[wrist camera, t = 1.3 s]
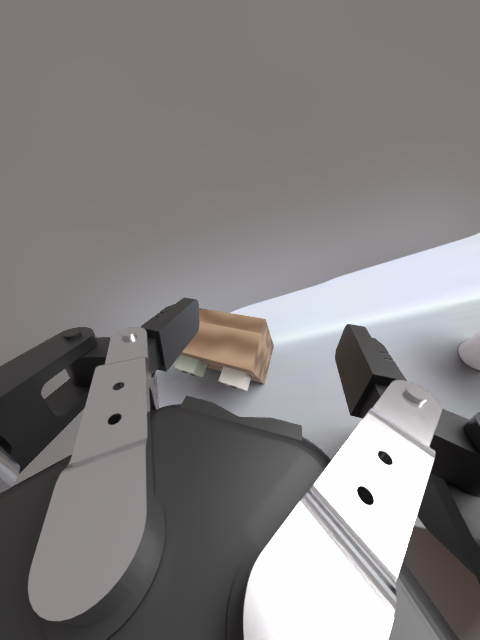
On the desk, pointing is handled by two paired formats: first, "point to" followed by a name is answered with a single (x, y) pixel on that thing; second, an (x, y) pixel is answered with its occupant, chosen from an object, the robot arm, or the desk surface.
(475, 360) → the coffee cup
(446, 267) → the desk surface
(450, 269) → the desk surface
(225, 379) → the key one
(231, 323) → the brown piece
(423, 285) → the desk surface
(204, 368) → the key two
